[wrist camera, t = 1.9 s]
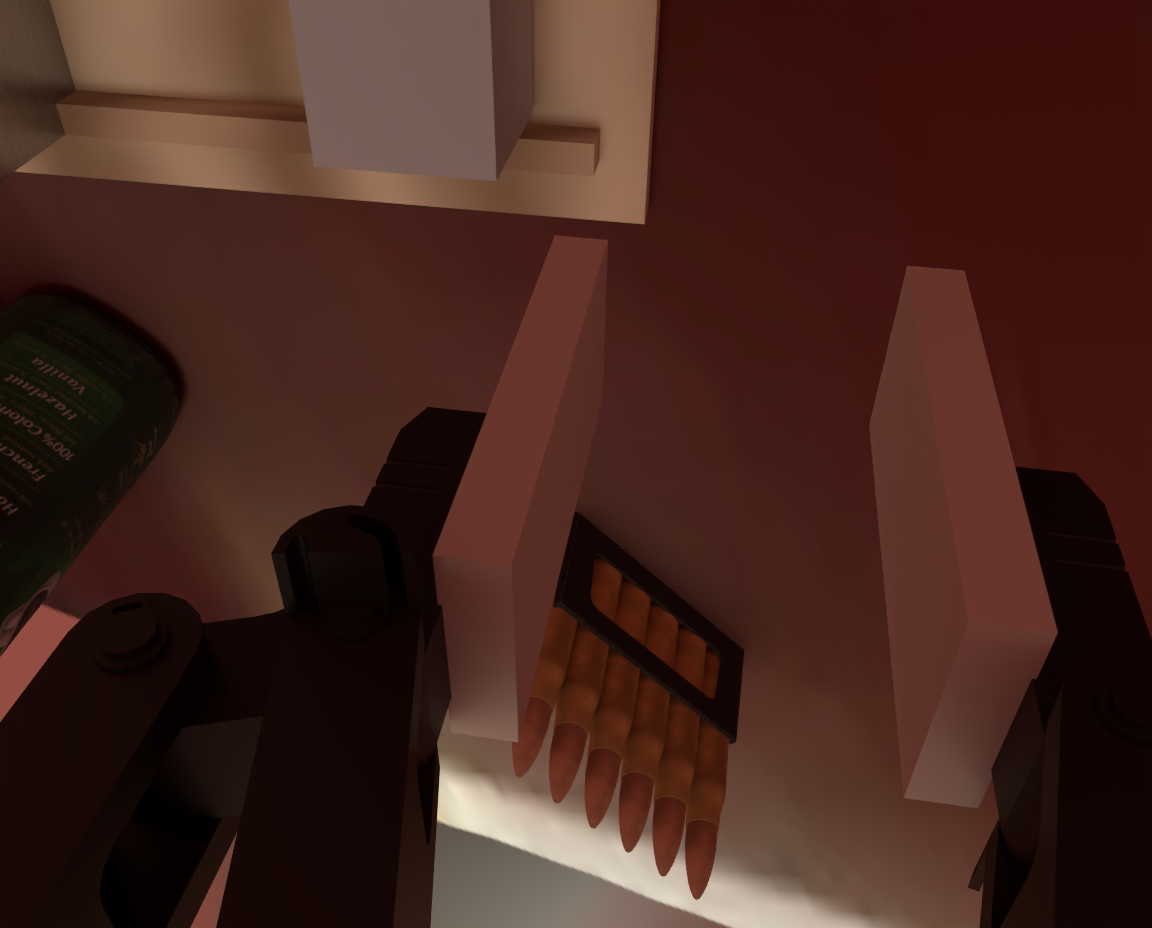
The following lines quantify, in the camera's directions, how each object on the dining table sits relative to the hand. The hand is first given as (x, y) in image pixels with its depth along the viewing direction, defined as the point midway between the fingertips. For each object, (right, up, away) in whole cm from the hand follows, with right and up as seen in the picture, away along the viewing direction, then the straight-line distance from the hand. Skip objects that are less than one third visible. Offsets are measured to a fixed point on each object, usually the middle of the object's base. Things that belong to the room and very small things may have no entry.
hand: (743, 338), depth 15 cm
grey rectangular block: (-6, +13, +13) cm, 19 cm away
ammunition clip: (+1, -7, +31) cm, 31 cm away
